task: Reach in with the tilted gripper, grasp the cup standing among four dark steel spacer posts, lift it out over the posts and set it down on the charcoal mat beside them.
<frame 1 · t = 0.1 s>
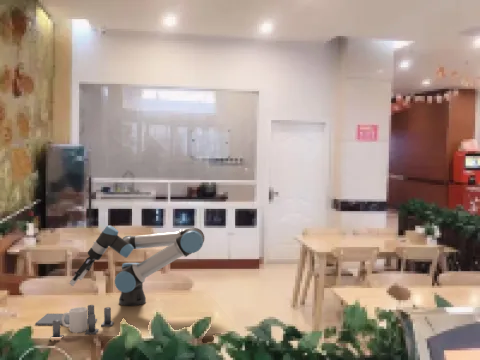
hand: (75, 281, 282), 15 cm above the table, tool tilted 35°, fingers open, 13 cm apart
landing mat: (60, 320, 264), on the table
cup: (74, 330, 249), on the table
spacer posts: (74, 330, 249), on the table
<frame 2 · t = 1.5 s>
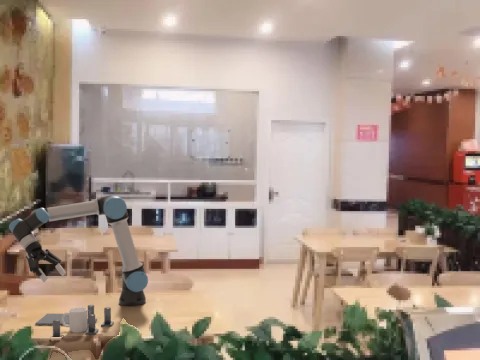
hand: (55, 277, 255), 24 cm above the table, tool tilted 45°, fingers open, 13 cm apart
nothing on the table moved.
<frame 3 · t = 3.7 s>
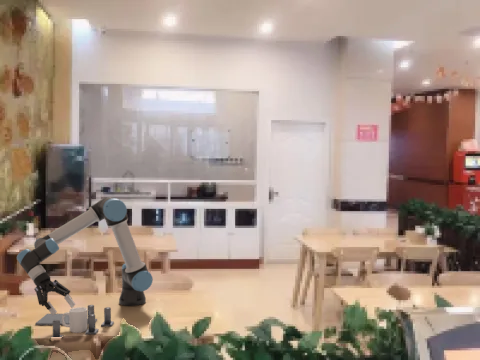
hand: (64, 309, 249), 10 cm above the table, tool tilted 45°, fingers open, 13 cm apart
nothing on the table moved.
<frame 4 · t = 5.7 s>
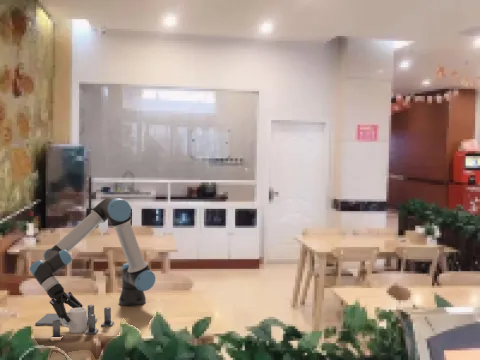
hand: (80, 323, 247), 4 cm above the table, tool tilted 45°, fingers closed on cup, 8 cm apart
cup: (73, 331, 248), on the table, touching gripper
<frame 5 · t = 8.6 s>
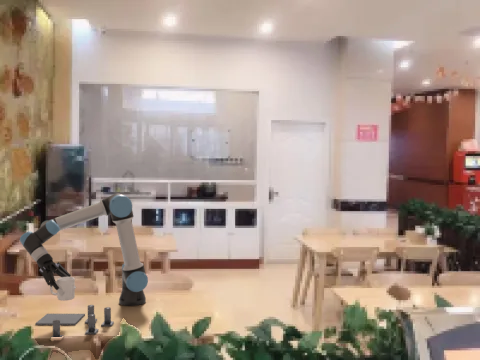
hand: (68, 291, 258), 16 cm above the table, tool tilted 45°, fingers closed on cup, 8 cm apart
cup: (62, 298, 258), point 13 cm above the table, touching gripper
when the fingers open (6 cm above the table, at t = 11.5 s): cup stays where it is, resting on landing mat.
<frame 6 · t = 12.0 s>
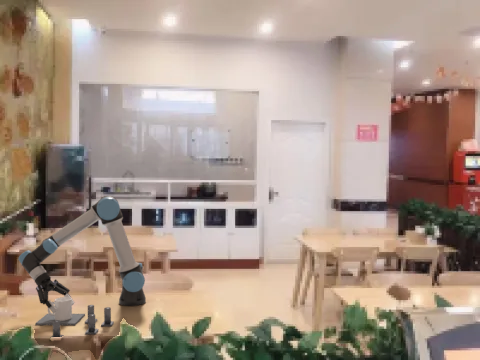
hand: (64, 308, 262), 7 cm above the table, tool tilted 45°, fingers open, 13 cm apart
cup: (59, 319, 263), point 1 cm above the table, touching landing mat
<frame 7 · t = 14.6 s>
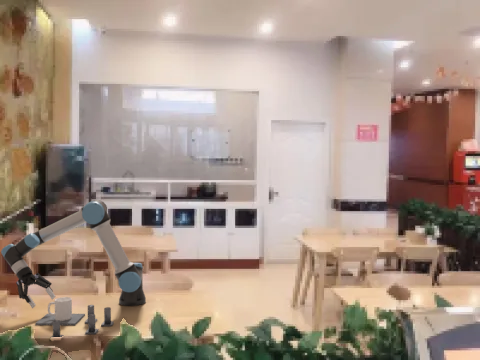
hand: (44, 302, 268), 8 cm above the table, tool tilted 40°, fingers open, 13 cm apart
nothing on the table moved.
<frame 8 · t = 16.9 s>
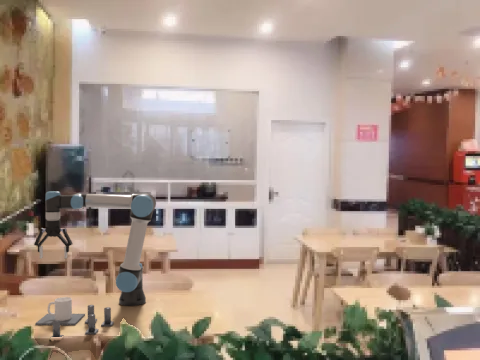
hand: (53, 258, 280), 29 cm above the table, tool pointing down, fingers open, 13 cm apart
nothing on the table moved.
at the end: cup inside the target area (0.8 cm from its centre), point 0.8 cm above the table; cup tilted 0°; the gripper is holding nothing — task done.
